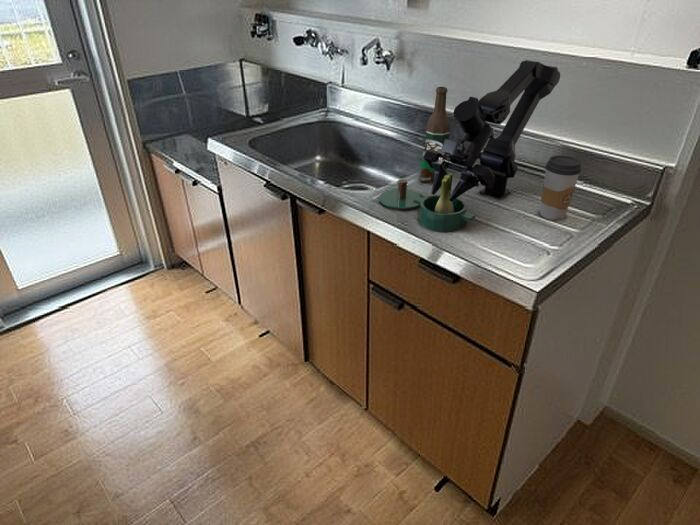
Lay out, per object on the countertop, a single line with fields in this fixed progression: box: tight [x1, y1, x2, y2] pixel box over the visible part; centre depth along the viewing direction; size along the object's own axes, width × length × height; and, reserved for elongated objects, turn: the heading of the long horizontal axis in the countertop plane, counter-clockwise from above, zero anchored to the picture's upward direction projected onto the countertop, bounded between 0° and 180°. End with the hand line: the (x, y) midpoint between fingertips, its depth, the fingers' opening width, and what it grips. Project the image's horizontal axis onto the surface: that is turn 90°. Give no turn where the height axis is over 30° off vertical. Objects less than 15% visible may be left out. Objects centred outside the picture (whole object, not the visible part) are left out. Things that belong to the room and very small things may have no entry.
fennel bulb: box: [434, 172, 454, 213], centre depth 124 cm, size 6×5×12 cm
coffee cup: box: [539, 154, 582, 221], centre depth 126 cm, size 8×8×15 cm
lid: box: [378, 178, 425, 210], centre depth 135 cm, size 12×12×6 cm
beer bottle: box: [425, 86, 451, 160], centre depth 155 cm, size 8×8×24 cm
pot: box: [413, 194, 476, 233], centre depth 125 cm, size 11×17×5 cm
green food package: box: [420, 138, 445, 184], centre depth 149 cm, size 12×6×10 cm, turn 168°
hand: (441, 197), depth 122 cm, fingers open, 5 cm apart
